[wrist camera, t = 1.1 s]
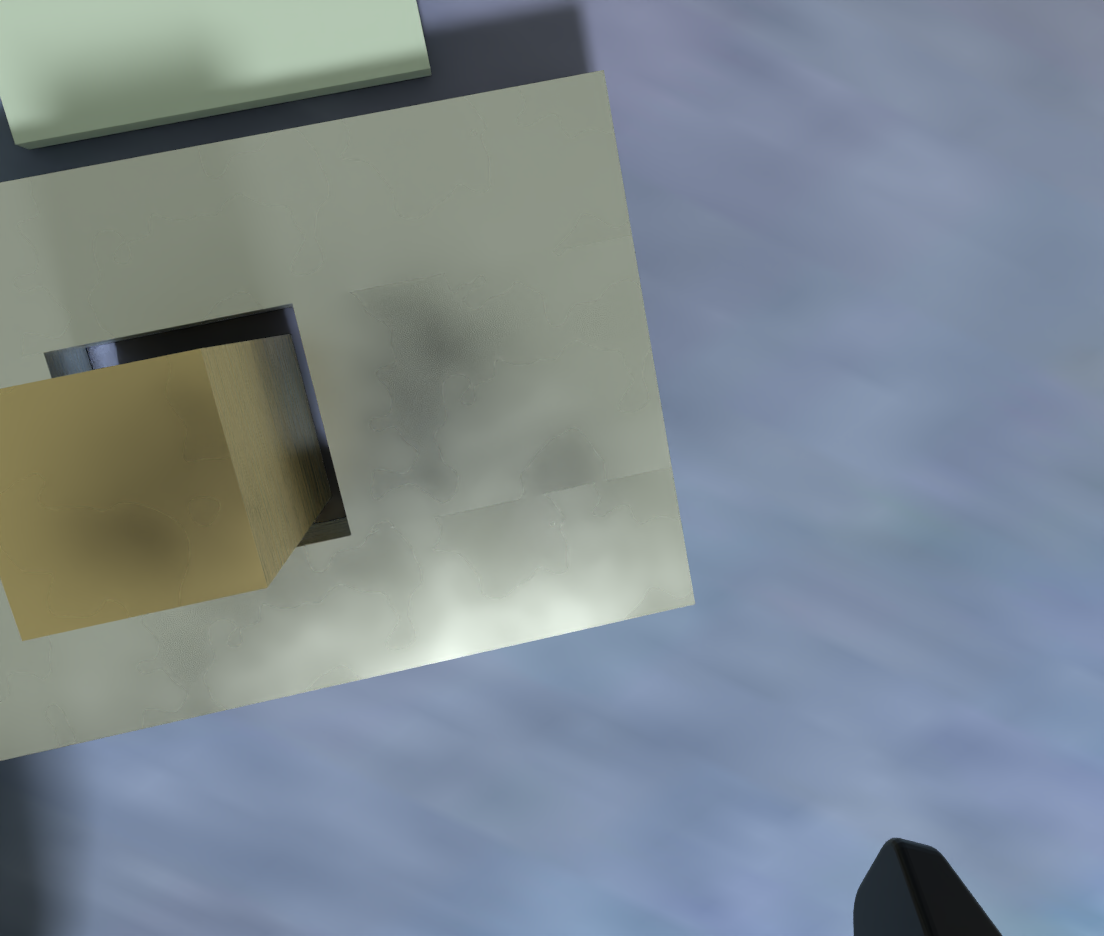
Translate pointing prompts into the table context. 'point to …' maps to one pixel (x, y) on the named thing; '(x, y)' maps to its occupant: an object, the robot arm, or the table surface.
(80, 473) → the brass peg
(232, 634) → the aluminium plate
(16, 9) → the sage mat
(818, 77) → the table surface
